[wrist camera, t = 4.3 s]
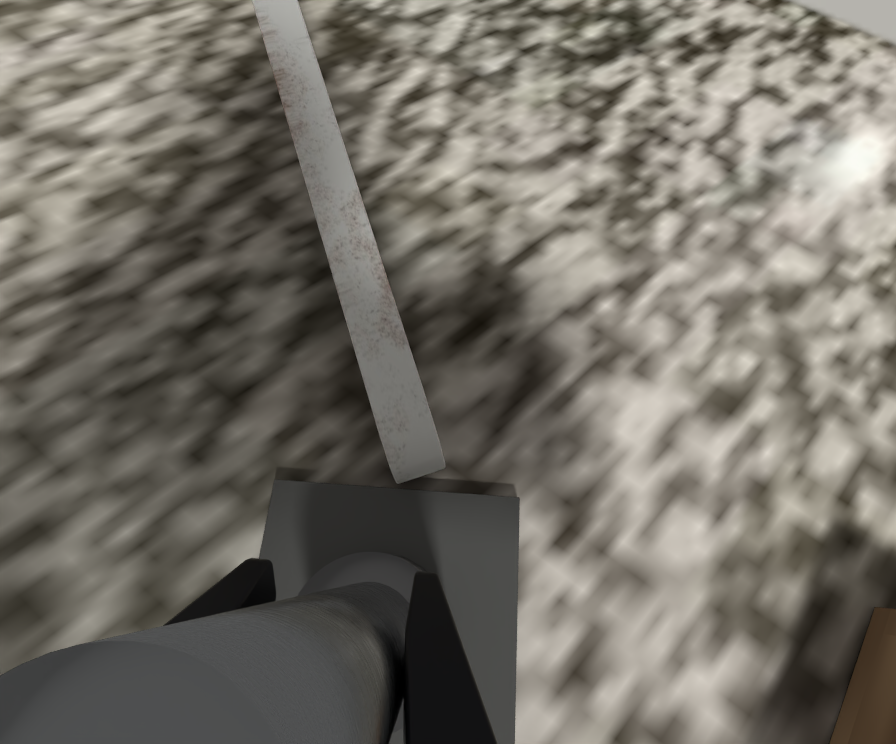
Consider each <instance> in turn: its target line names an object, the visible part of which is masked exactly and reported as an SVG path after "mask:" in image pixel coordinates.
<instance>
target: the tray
mask: <svg viewBox="0 0 896 744" xmlns="http://www.w3.org/2000/svg"><path fill="white" fill-rule="evenodd" d="M829 744H896V609H890V608H880V607H875V609H874V612H873V615H872V618H871V621H870V624H869V627H868V630H867V633H866V636H865V639H864V642H863V645H862V648H861V651H860V654H859V657H858V660H857V662H856V665H855V668H854V671H853V674H852V677H851V680H850V683H849V686H848V689H847V692H846V695H845V698H844V701H843V704H842V707H841V710H840V713H839V716H838V719H837V722H836V725H835V728H834V731H833V734H832V737H831V740H830V743H829Z"/></svg>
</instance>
